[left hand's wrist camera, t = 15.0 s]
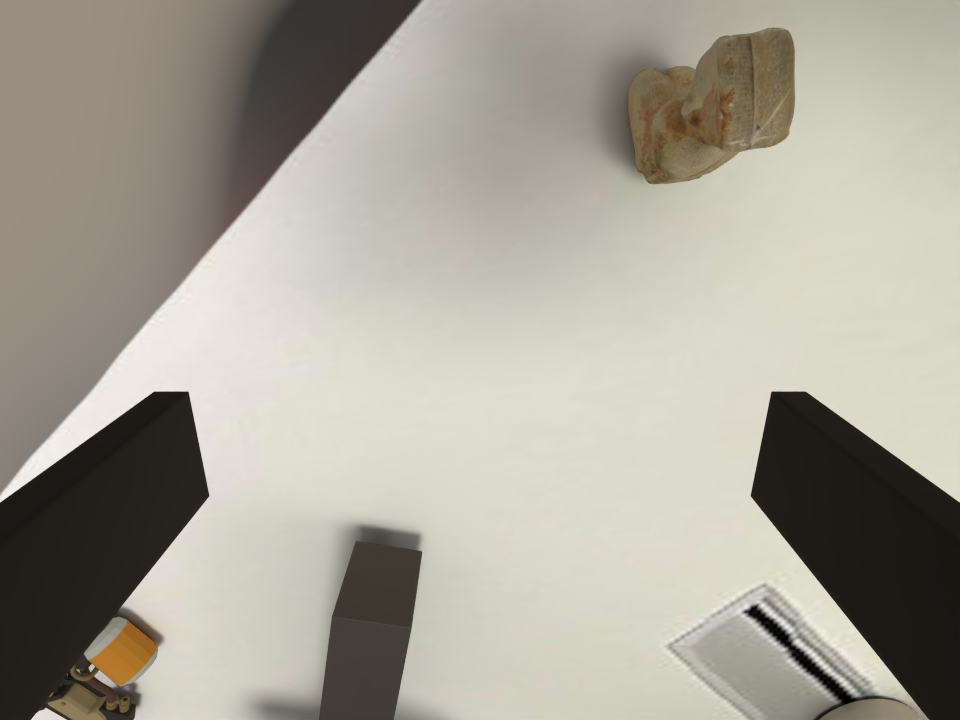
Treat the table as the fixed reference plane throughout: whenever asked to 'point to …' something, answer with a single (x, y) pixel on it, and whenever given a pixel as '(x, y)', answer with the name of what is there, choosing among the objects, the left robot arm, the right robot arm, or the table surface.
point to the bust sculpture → (873, 711)
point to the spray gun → (119, 659)
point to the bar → (370, 633)
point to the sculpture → (713, 106)
